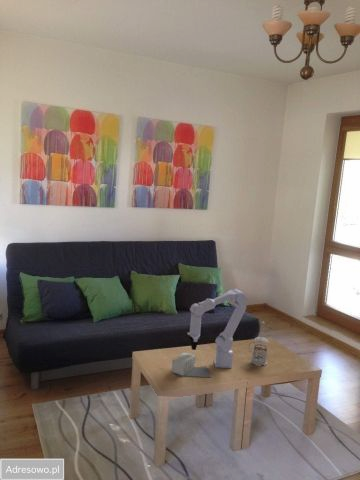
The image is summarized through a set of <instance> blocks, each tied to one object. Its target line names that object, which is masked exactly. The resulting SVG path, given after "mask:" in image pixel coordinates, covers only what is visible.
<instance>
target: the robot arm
mask: <svg viewBox="0 0 360 480" xmlns="http://www.w3.org/2000/svg"><path fill="white" fill-rule="evenodd" d="M248 300H249V299H248V297H247V294H246V293H245V292H242V291H241V290H239V289H238V288H235V287H234V288H233V289H229V290H228V291H227V292H225V293H223V294H221V295H219V296H217V297H215V298H213V299H212V298H206V299H205V300H203V301H201V302H200V301H199V302H198V303H195V302H194V303H193V304H191V306H190V307H189V311H190V322H189V323H190V324H189V332H187V335H188V338H189V340H190V347H191V350H192V351H193V350H194V351H196V350H197V346H198V343H199V342H200V339H201V338H200V336H201V328H202V327H201V326H202V316H203V315H204V313H206V312H208V311H209V312H210V311H211V310H213V309H215V307H216V306H217V305H219V304H223V303H225V302H228V301H229V302H233V303H234V305H235V309H234V310H233V313H232V314H231V316H230V318H229V320H228V321H227V324H226V326H225V328H224V330H223V331H222V332H220V333H219V335H218V336H216V339H215V341H214V342H215V345H216V352H215V360H213V363H214V366H215V368H225V369H232V368H233V360H234V359H233V357H234V352H233V350H232V346H233V345H232V344H233V341H234V338H233V336H234V334H235V332H236V330H237V328H238V326H239V324H240V322H241V320H242V319H243V316H244V314H245V312H246V310H247V302H248Z"/></svg>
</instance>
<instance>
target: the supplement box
mask: <svg viewBox="0 0 360 480" xmlns="http://www.w3.org/2000/svg"><path fill="white" fill-rule="evenodd" d="M171 361H172V364H171V372H172V373H174V374H176V373H177V374H179V375H182V376H181V377H184V376H183V375H184V374H186V373H187V372H189V371H190V370H192V369H193V368H194V367H196V366H195V365H196V354H193V353H188V352H186V351H184V352H182V353H181V354H178V355H177V356H176V357H173V359H172V360H171Z"/></svg>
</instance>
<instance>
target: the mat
mask: <svg viewBox="0 0 360 480" xmlns="http://www.w3.org/2000/svg"><path fill="white" fill-rule="evenodd" d="M175 374H176V377H188V378H189V377H190V378H191V377H192V378H206V379H208V378H211V373H210V368H209V367H202V366H194V368H193V369H192V370H190V371H189V372H187V373H186V374H184V375H183V376H182V375H179V374H177V373H175Z"/></svg>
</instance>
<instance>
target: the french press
mask: <svg viewBox="0 0 360 480" xmlns="http://www.w3.org/2000/svg"><path fill="white" fill-rule="evenodd" d="M265 324H266V323H265V321H261V325H265ZM261 329H262V330H261V332H263V331H264V326H262V328H261ZM253 339H254V340H252V341H250V342H249V344H248V350H249V352H250V353H251V354H252V357H251V358H252V359H251V360H250V363H251V362H252V363H253V364H252V363H251V364H252V365H254V364H255V365H254V366H257V365H260V366H259V367H262V366H261V365H266V364H267V365H268V362H267V355H268V349H267V348H268V347H267V346H266V345H264V344H268V343H269V340H268V339H267V338H266V337H263V336H257V337H255V338H253ZM252 343H253V344H254V347H253V350H251V347H250V346H251V344H252ZM255 343H256V344H255ZM257 343H259V344H257ZM267 365H266V366H267Z"/></svg>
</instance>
